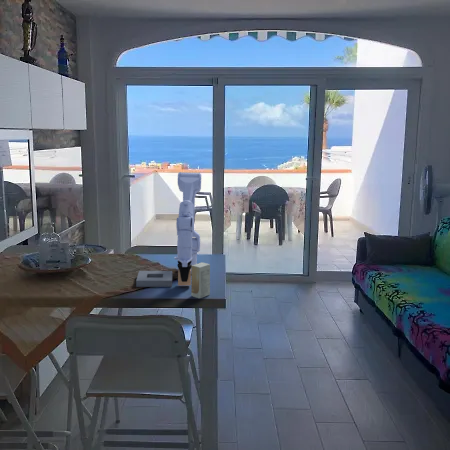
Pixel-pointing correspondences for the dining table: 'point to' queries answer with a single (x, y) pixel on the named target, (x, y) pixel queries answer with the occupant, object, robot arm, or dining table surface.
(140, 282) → the socket
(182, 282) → the plug
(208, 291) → the skincare box
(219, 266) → the dining table surface
